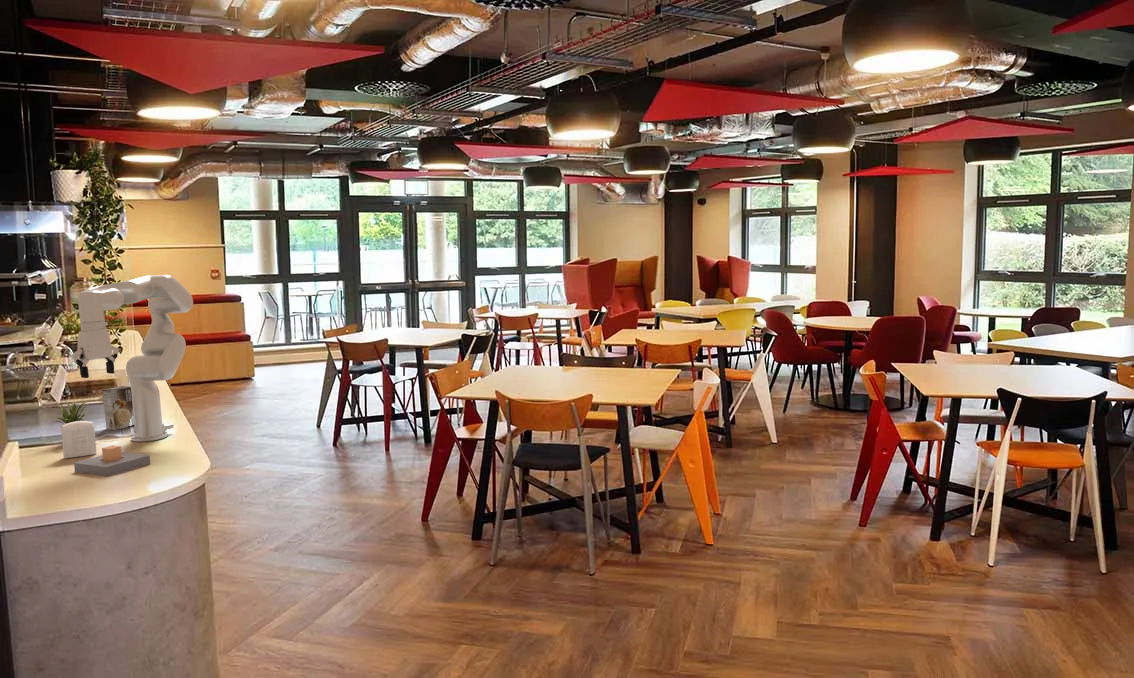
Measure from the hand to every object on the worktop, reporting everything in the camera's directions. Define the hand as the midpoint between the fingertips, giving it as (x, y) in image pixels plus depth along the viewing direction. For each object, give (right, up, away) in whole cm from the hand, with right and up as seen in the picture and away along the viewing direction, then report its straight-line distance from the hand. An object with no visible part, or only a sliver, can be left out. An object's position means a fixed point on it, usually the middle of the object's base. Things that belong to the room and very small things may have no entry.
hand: (97, 375), depth 309 cm
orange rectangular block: (+13, -30, -15) cm, 36 cm away
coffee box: (-17, -23, +51) cm, 58 cm away
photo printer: (-8, -29, +4) cm, 30 cm away
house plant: (-21, -26, +26) cm, 43 cm away
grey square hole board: (+13, -30, -15) cm, 36 cm away
